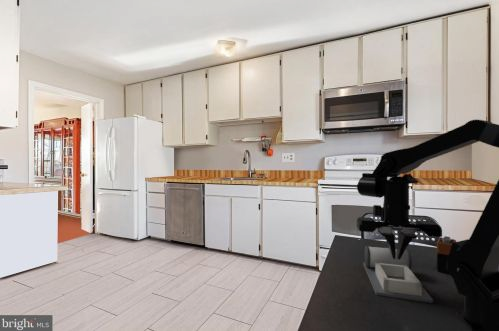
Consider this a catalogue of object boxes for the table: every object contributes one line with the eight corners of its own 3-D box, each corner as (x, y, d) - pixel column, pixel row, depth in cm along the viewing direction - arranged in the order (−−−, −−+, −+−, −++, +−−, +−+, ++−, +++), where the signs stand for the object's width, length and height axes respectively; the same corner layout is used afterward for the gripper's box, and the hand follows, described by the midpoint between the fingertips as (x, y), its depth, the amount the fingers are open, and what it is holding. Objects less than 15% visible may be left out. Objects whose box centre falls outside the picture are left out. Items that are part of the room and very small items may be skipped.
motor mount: (433, 303, 58) (433, 273, 58) (376, 296, 61) (376, 267, 61) (405, 269, 77) (405, 246, 77) (363, 264, 80) (363, 243, 80)
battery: (436, 271, 75) (436, 238, 75) (438, 265, 80) (438, 234, 80) (455, 276, 72) (455, 241, 72) (456, 268, 77) (456, 236, 77)
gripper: (424, 197, 71) (424, 252, 71) (354, 195, 76) (354, 246, 76) (443, 203, 60) (443, 267, 60) (359, 199, 65) (359, 259, 65)
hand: (396, 258), depth 66 cm, fingers closed
